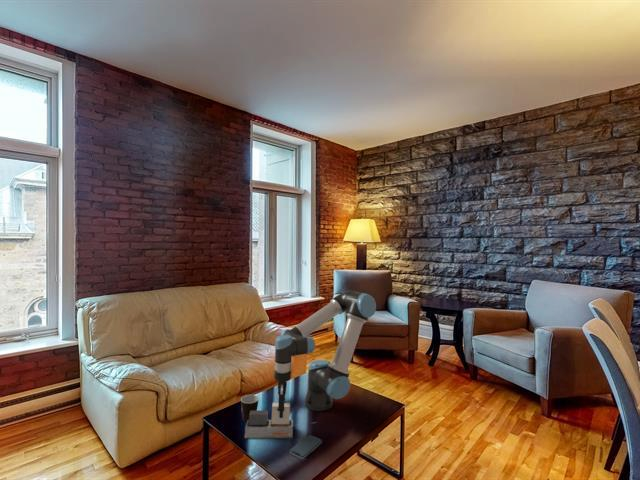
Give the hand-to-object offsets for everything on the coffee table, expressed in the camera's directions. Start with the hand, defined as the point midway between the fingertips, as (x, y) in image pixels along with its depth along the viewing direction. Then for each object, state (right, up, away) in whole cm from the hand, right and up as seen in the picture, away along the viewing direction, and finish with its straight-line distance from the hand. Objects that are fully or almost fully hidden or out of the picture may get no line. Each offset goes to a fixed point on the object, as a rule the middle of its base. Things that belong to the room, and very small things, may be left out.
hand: (281, 421), depth 149 cm
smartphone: (+12, -6, -10) cm, 17 cm away
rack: (-5, -5, 0) cm, 7 cm away
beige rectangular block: (0, 0, 0) cm, 0 cm away
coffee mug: (-17, -5, +11) cm, 21 cm away
